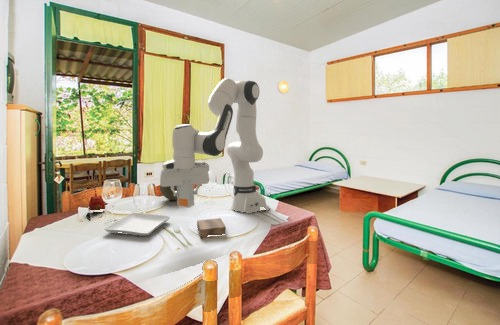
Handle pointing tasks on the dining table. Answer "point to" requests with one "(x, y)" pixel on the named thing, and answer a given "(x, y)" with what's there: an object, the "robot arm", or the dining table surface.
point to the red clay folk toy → (96, 202)
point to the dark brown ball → (168, 192)
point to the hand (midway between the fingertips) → (185, 194)
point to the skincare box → (185, 194)
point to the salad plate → (137, 224)
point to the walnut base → (210, 227)
